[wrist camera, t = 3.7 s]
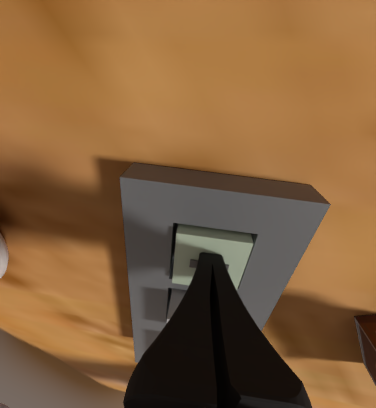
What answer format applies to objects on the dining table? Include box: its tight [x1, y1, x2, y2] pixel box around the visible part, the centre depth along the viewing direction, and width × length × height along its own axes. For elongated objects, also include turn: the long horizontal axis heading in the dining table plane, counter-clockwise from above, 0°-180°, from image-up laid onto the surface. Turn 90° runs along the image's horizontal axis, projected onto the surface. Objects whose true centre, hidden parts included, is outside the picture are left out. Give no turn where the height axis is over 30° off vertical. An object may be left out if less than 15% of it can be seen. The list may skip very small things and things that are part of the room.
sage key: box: [172, 224, 253, 290], centre depth 13 cm, size 4×4×2 cm
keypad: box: [120, 163, 331, 362], centre depth 17 cm, size 22×11×2 cm, turn 174°
